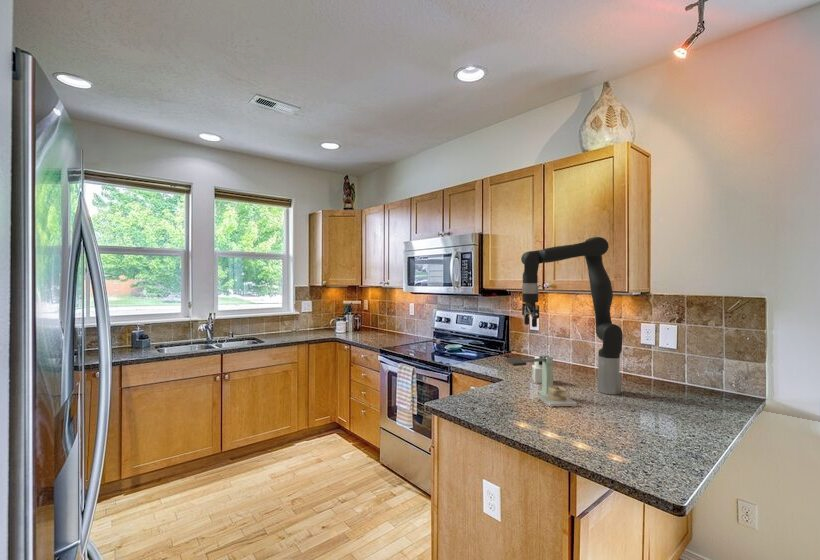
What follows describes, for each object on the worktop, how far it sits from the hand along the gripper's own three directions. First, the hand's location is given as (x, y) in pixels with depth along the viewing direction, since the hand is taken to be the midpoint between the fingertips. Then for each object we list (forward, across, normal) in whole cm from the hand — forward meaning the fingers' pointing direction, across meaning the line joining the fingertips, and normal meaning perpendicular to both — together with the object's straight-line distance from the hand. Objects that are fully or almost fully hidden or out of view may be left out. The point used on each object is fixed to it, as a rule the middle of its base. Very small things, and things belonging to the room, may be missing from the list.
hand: (530, 325), depth 188 cm
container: (+32, +14, -12) cm, 37 cm away
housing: (+30, -18, -4) cm, 35 cm away
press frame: (+32, -14, -4) cm, 35 cm away
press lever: (+16, -8, +4) cm, 19 cm away
